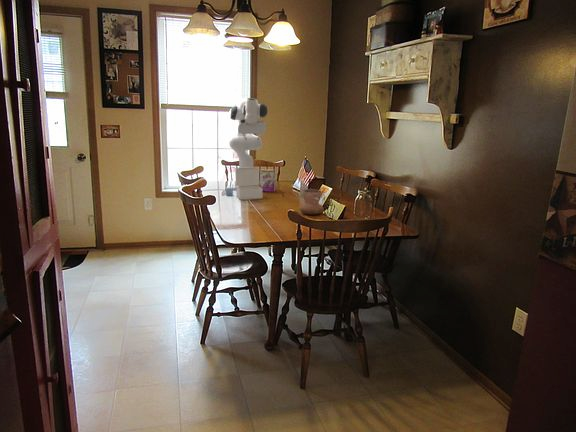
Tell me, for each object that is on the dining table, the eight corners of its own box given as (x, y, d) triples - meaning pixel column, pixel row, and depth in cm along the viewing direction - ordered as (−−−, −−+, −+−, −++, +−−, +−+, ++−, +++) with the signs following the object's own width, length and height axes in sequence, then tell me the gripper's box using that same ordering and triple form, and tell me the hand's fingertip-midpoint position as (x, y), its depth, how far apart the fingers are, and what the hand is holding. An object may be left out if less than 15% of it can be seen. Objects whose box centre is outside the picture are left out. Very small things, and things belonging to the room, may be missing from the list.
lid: (236, 186, 309) (235, 186, 311) (259, 185, 314) (258, 185, 316) (235, 167, 307) (235, 167, 309) (259, 167, 311) (258, 167, 313)
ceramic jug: (328, 216, 262) (329, 192, 259) (305, 217, 258) (305, 193, 254) (316, 209, 279) (317, 187, 275) (294, 211, 274) (295, 188, 271)
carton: (236, 196, 312) (236, 186, 311) (258, 195, 317) (258, 185, 315) (239, 200, 301) (239, 190, 300) (262, 198, 306) (262, 189, 304)
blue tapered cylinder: (225, 194, 319) (225, 187, 318) (232, 194, 320) (232, 187, 319) (226, 195, 314) (226, 188, 313) (233, 195, 316) (233, 188, 314)
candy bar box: (259, 191, 330) (259, 169, 326) (260, 190, 335) (260, 168, 331) (274, 192, 329) (274, 170, 325) (275, 190, 334) (275, 169, 330)
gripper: (266, 121, 323) (266, 140, 325) (238, 121, 324) (239, 140, 326) (265, 120, 317) (265, 140, 319) (237, 120, 318) (237, 140, 320)
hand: (252, 140), depth 323 cm, fingers open, 8 cm apart
